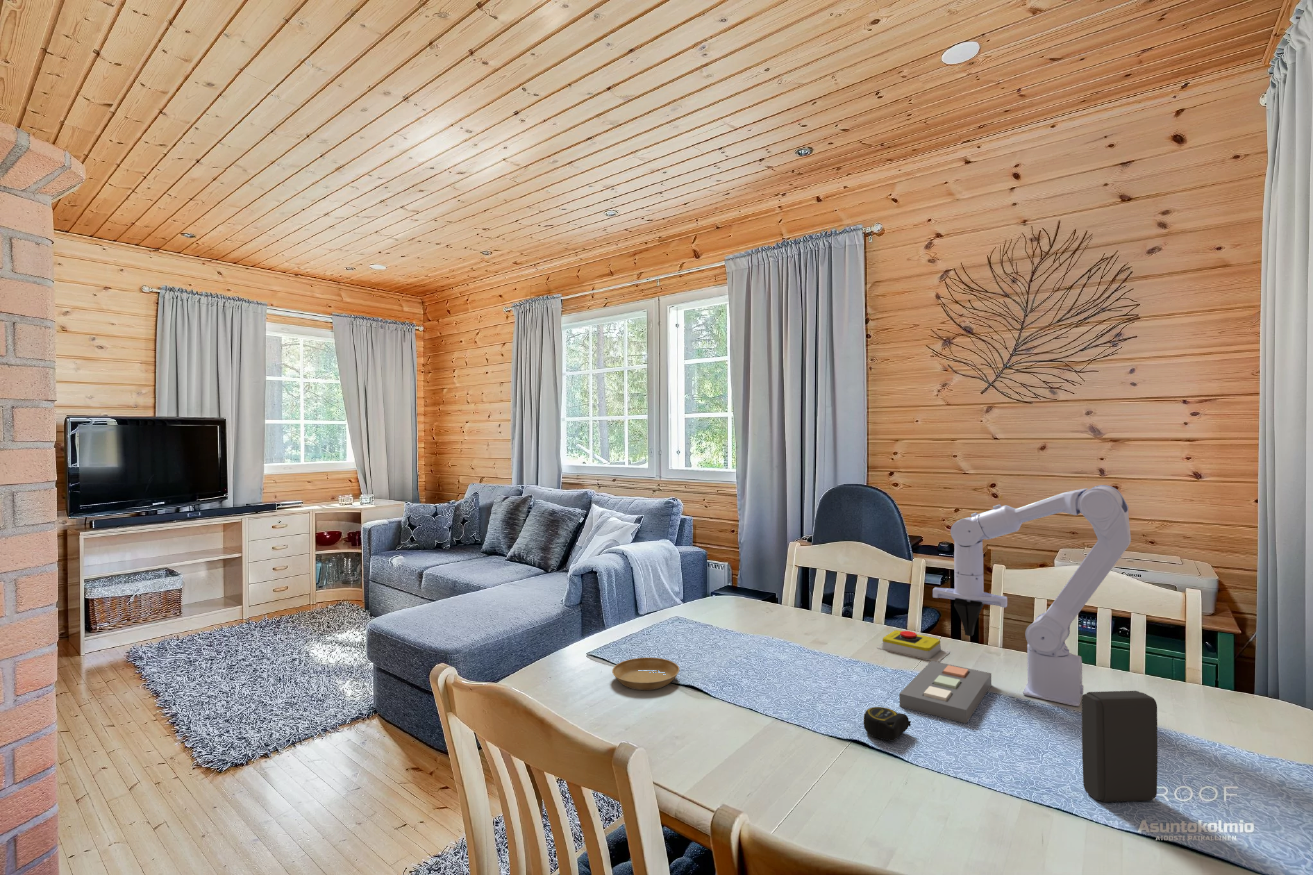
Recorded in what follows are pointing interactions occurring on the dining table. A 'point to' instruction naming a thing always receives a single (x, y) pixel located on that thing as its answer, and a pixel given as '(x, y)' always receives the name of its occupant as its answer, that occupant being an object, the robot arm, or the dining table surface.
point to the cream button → (937, 693)
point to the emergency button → (913, 645)
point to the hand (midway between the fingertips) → (969, 634)
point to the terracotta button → (956, 671)
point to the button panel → (961, 698)
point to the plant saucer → (645, 673)
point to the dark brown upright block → (1119, 745)
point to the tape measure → (885, 723)
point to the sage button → (947, 682)
